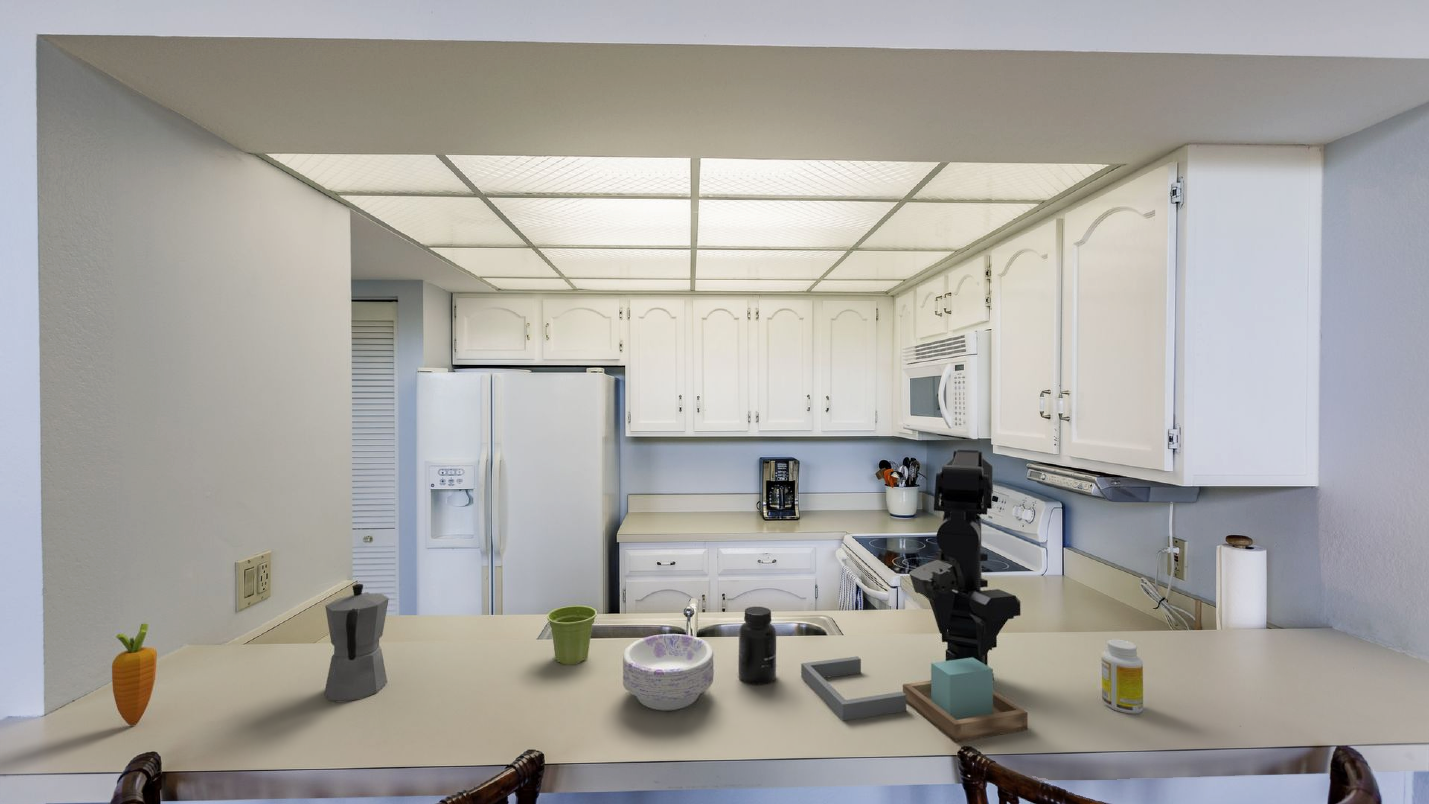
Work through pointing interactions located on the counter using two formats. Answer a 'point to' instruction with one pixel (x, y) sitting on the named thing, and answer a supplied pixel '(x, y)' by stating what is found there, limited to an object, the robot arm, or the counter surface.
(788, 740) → the counter surface
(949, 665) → the tall aqua prism
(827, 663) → the bay
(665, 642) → the paper bowls
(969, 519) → the robot arm
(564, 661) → the plant pot
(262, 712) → the counter surface
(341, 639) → the coffeepot
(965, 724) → the tray
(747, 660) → the supplement bottle
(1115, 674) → the supplement bottle
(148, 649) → the carrot
